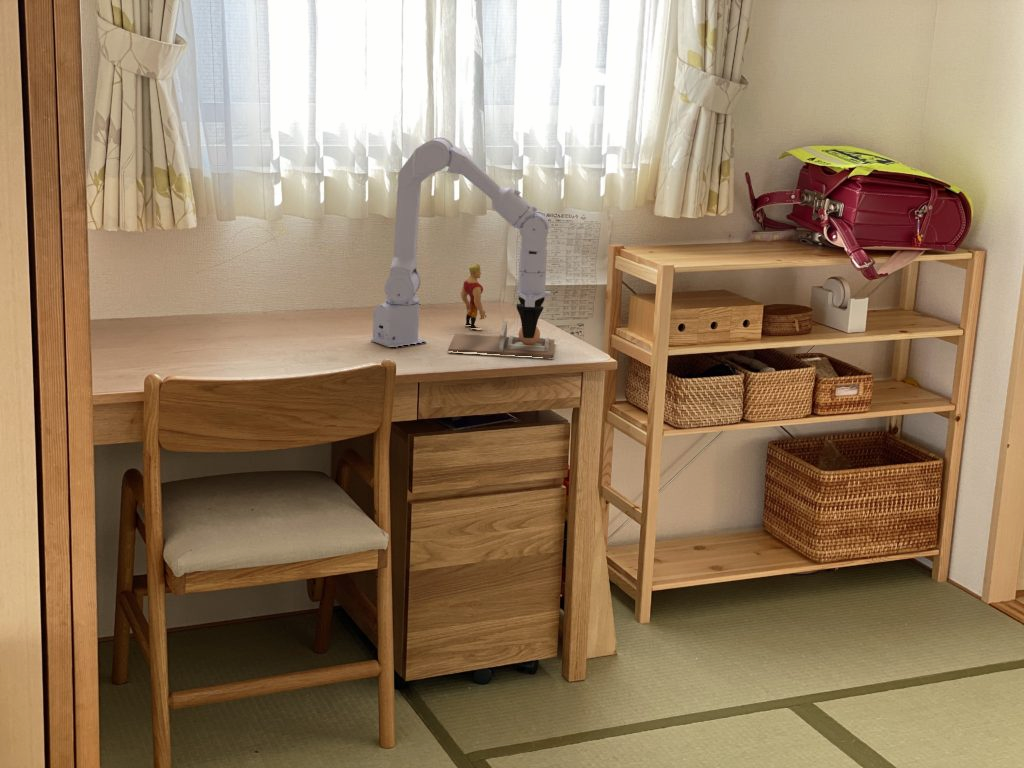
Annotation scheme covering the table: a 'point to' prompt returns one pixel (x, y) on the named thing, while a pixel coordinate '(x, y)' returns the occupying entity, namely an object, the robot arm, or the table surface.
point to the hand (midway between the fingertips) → (529, 333)
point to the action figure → (473, 296)
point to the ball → (529, 340)
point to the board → (502, 345)
